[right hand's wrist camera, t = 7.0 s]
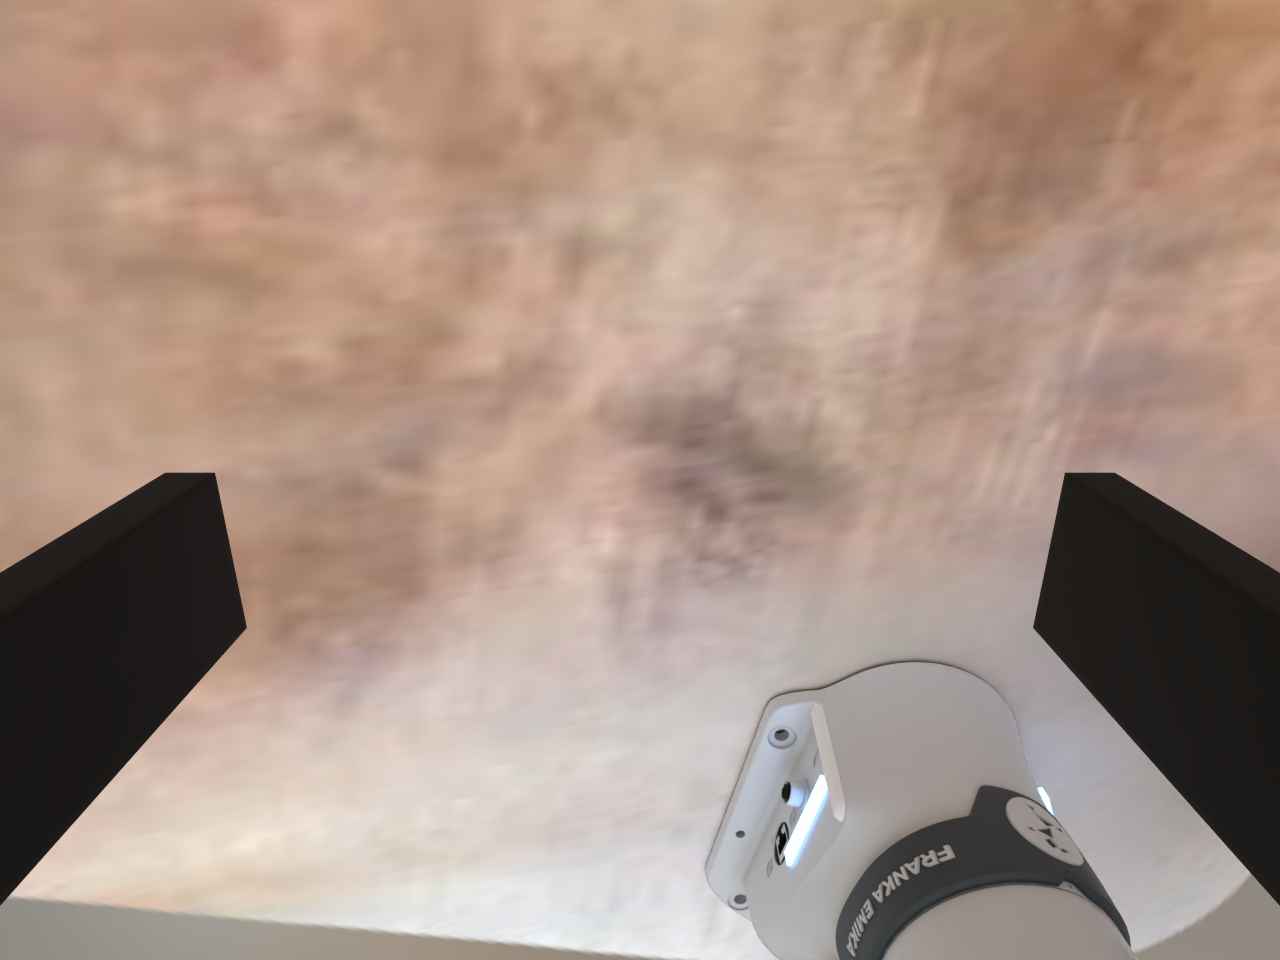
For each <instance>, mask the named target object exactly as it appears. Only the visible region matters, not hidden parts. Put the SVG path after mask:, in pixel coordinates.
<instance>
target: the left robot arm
mask: <svg viewBox="0 0 1280 960" xmlns="http://www.w3.org/2000/svg"><path fill="white" fill-rule="evenodd" d="M780 729H784V730H785V731H784V732H782V733H776V731H778V730H780ZM705 874H706V879H707V883H708V885H709V887H710V888H711V890H712V891H713V892H714V893H715V894H716V896H717V897H718V898H719V899H720V900H721V901H722V902H723V903H725V904H726V905H727V906H728V907H729V908H731V909H732V910H734V911H735V912H736V913H738V914H740V915H741V916H743V917H745V918H746V919H748V920H750V921H752V924H753V927H754V929H755V931H756V933H757V935H758V937H759V939H760V940H761V942H762V943H763V945H764V946H765V947H766V948H767V949H768V950H769V951H770V952H771V953H772V954H773V955H774V956H776V957H777V958H778V959H779V960H1138V959H1137V957H1136V956H1135V954H1134V953H1133V951H1132V950H1131V944H1130V937H1129V933H1128V930H1127V927H1126V925H1125V923H1124V921H1123V919H1122V917H1121V915H1120V913H1119V912H1118V910H1117V908H1116V907H1115V905H1114V903H1113V902H1112V900H1111V899H1110V897H1109V895H1108V894H1107V892H1106V890H1105V889H1104V887H1103V885H1102V884H1101V882H1100V881H1099V879H1098V878H1097V876H1096V874H1095V873H1094V871H1093V870H1092V868H1091V867H1090V865H1089V864H1088V862H1087V861H1086V859H1085V858H1084V856H1083V855H1082V853H1081V852H1080V850H1079V849H1078V847H1077V846H1076V844H1075V843H1074V842H1073V840H1072V839H1071V837H1070V836H1069V835H1068V833H1067V832H1066V831H1065V829H1064V828H1063V827H1062V826H1061V824H1060V823H1059V822H1058V821H1057V819H1056V818H1055V817H1054V816H1053V812H1052V808H1051V804H1050V801H1049V797H1048V795H1047V794H1046V792H1045V791H1044V789H1043V788H1042V787H1040V788H1037V786H1036V783H1035V781H1034V779H1033V776H1032V774H1031V772H1030V769H1029V766H1028V763H1027V760H1026V757H1025V754H1024V751H1023V747H1022V744H1021V740H1020V735H1019V731H1018V726H1017V723H1016V720H1015V717H1014V715H1013V713H1012V711H1011V709H1010V707H1009V706H1008V704H1007V703H1006V701H1005V700H1004V699H1003V698H1002V696H1001V695H1000V694H999V693H998V692H997V691H996V690H995V689H994V688H992V687H991V686H990V685H989V684H987V683H986V682H984V681H983V680H981V679H980V678H978V677H976V676H974V675H972V674H970V673H968V672H966V671H963V670H961V669H958V668H954V667H951V666H947V665H942V664H936V663H927V662H904V663H895V664H889V665H884V666H879V667H876V668H872V669H869V670H866V671H863V672H860V673H858V674H855V675H853V676H851V677H849V678H847V679H844V680H842V681H840V682H838V683H836V684H834V685H831V686H829V687H826V688H823V689H820V690H810V691H801V692H794V693H788V694H783V695H780V696H778V697H776V698H774V699H772V700H771V701H770V702H769V703H768V705H767V706H766V708H765V711H764V713H763V716H762V719H761V721H760V724H759V726H758V729H757V732H756V734H755V737H754V740H753V742H752V745H751V748H750V750H749V753H748V756H747V758H746V761H745V764H744V766H743V769H742V771H741V774H740V777H739V779H738V782H737V785H736V787H735V790H734V793H733V795H732V798H731V801H730V803H729V806H728V809H727V811H726V814H725V816H724V819H723V822H722V824H721V827H720V830H719V832H718V835H717V838H716V840H715V843H714V846H713V848H712V851H711V854H710V856H709V859H708V862H707V865H706V869H705ZM739 894H741V895H739Z"/></svg>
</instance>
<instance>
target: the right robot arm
mask: <svg viewBox="0 0 1280 960" xmlns="http://www.w3.org/2000/svg"><path fill="white" fill-rule="evenodd" d="M246 628H247V626H246V621H245V617H244V612H243V607H242V602H241V597H240V592H239V587H238V583H237V578H236V573H235V568H234V563H233V558H232V554H231V549H230V544H229V539H228V534H227V529H226V524H225V520H224V515H223V510H222V505H221V500H220V495H219V490H218V486H217V481H216V476H215V473H164V474H162V475H161V476H159V477H157V478H156V479H154V480H153V481H151V482H149V483H148V484H146V485H144V486H143V487H141V488H139V489H138V490H136V491H134V492H133V493H131V494H129V495H128V496H126V497H124V498H123V499H121V500H120V501H118V502H116V503H115V504H113V505H111V506H110V507H108V508H106V509H105V510H103V511H101V512H100V513H98V514H96V515H95V516H93V517H91V518H90V519H88V520H87V521H85V522H83V523H82V524H80V525H78V526H77V527H75V528H73V529H72V530H70V531H68V532H67V533H65V534H63V535H62V536H60V537H59V538H57V539H55V540H54V541H52V542H50V543H49V544H47V545H45V546H44V547H42V548H40V549H39V550H37V551H35V552H34V553H32V554H30V555H29V556H27V557H26V558H24V559H22V560H21V561H19V562H17V563H16V564H14V565H12V566H11V567H9V568H7V569H6V570H4V571H2V572H1V573H0V905H1V904H2V903H3V902H4V901H5V900H6V899H7V897H8V896H9V895H10V894H11V893H12V892H13V891H14V889H15V888H16V887H17V886H18V885H19V884H20V883H21V882H22V880H23V879H24V878H25V877H26V876H27V875H28V874H29V873H30V871H31V870H32V869H33V868H34V867H35V866H36V865H37V864H38V862H39V861H40V860H41V859H42V858H43V857H44V856H45V855H46V853H47V852H48V851H49V850H50V849H51V848H52V847H53V846H54V844H55V843H56V842H57V841H58V840H59V839H60V838H61V837H62V835H63V834H64V833H65V832H66V831H67V830H68V829H69V828H70V826H71V825H72V824H73V823H74V822H75V821H76V820H77V819H78V817H79V816H80V815H81V814H82V813H83V812H84V811H85V810H86V808H87V807H88V806H89V805H90V804H91V803H92V802H93V800H94V799H95V798H96V797H97V796H98V795H99V794H100V793H101V791H102V790H103V789H104V788H105V787H106V786H107V785H108V784H109V782H110V781H111V780H112V779H113V778H114V777H115V776H116V775H117V773H118V772H119V771H120V770H121V769H122V768H123V767H124V766H125V764H126V763H127V762H128V761H129V760H130V759H131V758H132V757H133V755H134V754H135V753H136V752H137V751H138V750H139V749H140V748H141V746H142V745H143V744H144V743H145V742H146V741H147V740H148V739H149V737H150V736H151V735H152V734H153V733H154V732H155V731H156V730H157V728H158V727H159V726H160V725H161V724H162V723H163V722H164V721H165V719H166V718H167V717H168V716H169V715H170V714H171V713H172V712H173V710H174V709H175V708H176V707H177V706H178V705H179V704H180V702H181V701H182V700H183V699H184V698H185V697H186V696H187V695H188V693H189V692H190V691H191V690H192V689H193V688H194V687H195V686H196V684H197V683H198V682H199V681H200V680H201V679H202V678H203V677H204V675H205V674H206V673H207V672H208V671H209V670H210V669H211V668H212V666H213V665H214V664H215V663H216V662H217V661H218V660H219V659H220V657H221V656H222V655H223V654H224V653H225V652H226V651H227V650H228V648H229V647H230V646H231V645H232V644H233V643H234V642H235V641H236V639H237V638H238V637H239V636H240V635H241V634H242V633H243V632H244V630H245V629H246ZM1033 628H1034V629H1035V630H1036V632H1037V633H1038V634H1039V635H1040V636H1041V637H1042V638H1043V639H1044V641H1045V642H1046V643H1047V644H1048V645H1049V646H1050V647H1051V648H1052V650H1053V651H1054V652H1055V653H1056V654H1057V655H1058V656H1059V657H1060V659H1061V660H1062V661H1063V662H1064V663H1065V664H1066V665H1067V666H1068V668H1069V669H1070V670H1071V671H1072V672H1073V673H1074V674H1075V675H1076V677H1077V678H1078V679H1079V680H1080V681H1081V682H1082V683H1083V684H1084V686H1085V687H1086V688H1087V689H1088V690H1089V691H1090V692H1091V693H1092V695H1093V696H1094V697H1095V698H1096V699H1097V700H1098V701H1099V702H1100V704H1101V705H1102V706H1103V707H1104V708H1105V709H1106V710H1107V712H1108V713H1109V714H1110V715H1111V716H1112V717H1113V718H1114V719H1115V721H1116V722H1117V723H1118V724H1119V725H1120V726H1121V727H1122V728H1123V730H1124V731H1125V732H1126V733H1127V734H1128V735H1129V736H1130V737H1131V739H1132V740H1133V741H1134V742H1135V743H1136V744H1137V745H1138V746H1139V748H1140V749H1141V750H1142V751H1143V752H1144V753H1145V754H1146V755H1147V757H1148V758H1149V759H1150V760H1151V761H1152V762H1153V763H1154V764H1155V766H1156V767H1157V768H1158V769H1159V770H1160V771H1161V772H1162V773H1163V775H1164V776H1165V777H1166V778H1167V779H1168V780H1169V781H1170V782H1171V784H1172V785H1173V786H1174V787H1175V788H1176V789H1177V790H1178V791H1179V793H1180V794H1181V795H1182V796H1183V797H1184V798H1185V799H1186V800H1187V802H1188V803H1189V804H1190V805H1191V806H1192V807H1193V808H1194V810H1195V811H1196V812H1197V813H1198V814H1199V815H1200V816H1201V817H1202V819H1203V820H1204V821H1205V822H1206V823H1207V824H1208V825H1209V826H1210V828H1211V829H1212V830H1213V831H1214V832H1215V833H1216V834H1217V835H1218V837H1219V838H1220V839H1221V840H1222V841H1223V842H1224V843H1225V844H1226V846H1227V847H1228V848H1229V849H1230V850H1231V851H1232V852H1233V853H1234V855H1235V856H1236V857H1237V858H1238V859H1239V860H1240V861H1241V862H1242V864H1243V865H1244V866H1245V867H1246V868H1247V869H1248V870H1249V871H1250V873H1251V874H1252V875H1253V876H1254V877H1255V878H1256V879H1257V880H1258V882H1259V883H1260V884H1261V885H1262V886H1263V887H1264V888H1265V889H1266V891H1267V892H1268V893H1269V894H1270V895H1271V896H1272V897H1273V898H1274V900H1275V901H1276V902H1277V903H1278V904H1279V905H1280V573H1279V572H1278V571H1276V570H1274V569H1273V568H1271V567H1269V566H1268V565H1266V564H1264V563H1263V562H1261V561H1259V560H1258V559H1256V558H1254V557H1253V556H1251V555H1250V554H1248V553H1246V552H1245V551H1243V550H1241V549H1240V548H1238V547H1236V546H1235V545H1233V544H1231V543H1230V542H1228V541H1226V540H1225V539H1223V538H1221V537H1220V536H1218V535H1217V534H1215V533H1213V532H1212V531H1210V530H1208V529H1207V528H1205V527H1203V526H1202V525H1200V524H1198V523H1197V522H1195V521H1193V520H1192V519H1190V518H1189V517H1187V516H1185V515H1184V514H1182V513H1180V512H1179V511H1177V510H1175V509H1174V508H1172V507H1170V506H1169V505H1167V504H1165V503H1164V502H1162V501H1160V500H1159V499H1157V498H1156V497H1154V496H1152V495H1151V494H1149V493H1147V492H1146V491H1144V490H1142V489H1141V488H1139V487H1137V486H1136V485H1134V484H1132V483H1131V482H1129V481H1127V480H1126V479H1124V478H1123V477H1121V476H1119V475H1118V474H1116V473H1065V476H1064V481H1063V486H1062V490H1061V495H1060V500H1059V505H1058V510H1057V515H1056V520H1055V524H1054V529H1053V534H1052V539H1051V544H1050V549H1049V553H1048V558H1047V563H1046V568H1045V573H1044V578H1043V583H1042V587H1041V592H1040V597H1039V602H1038V607H1037V612H1036V617H1035V621H1034V626H1033Z"/></svg>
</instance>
